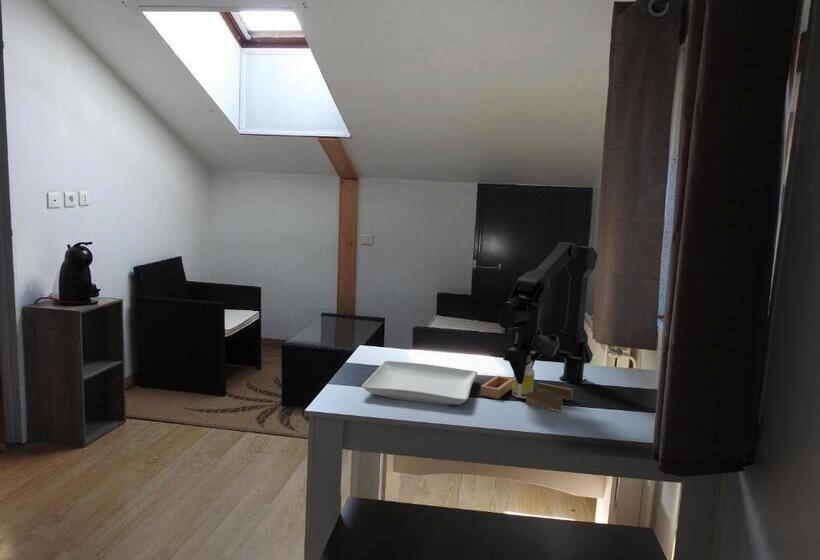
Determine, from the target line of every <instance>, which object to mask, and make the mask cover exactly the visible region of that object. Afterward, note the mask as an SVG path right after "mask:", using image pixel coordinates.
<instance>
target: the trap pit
mask: <svg viewBox="0 0 820 560" xmlns="http://www.w3.org/2000/svg"><path fill="white" fill-rule="evenodd" d="M511 390H513V378H512V377H506V376H503V375H502V376H501V375H496V376H494V377H492V378H491V379H489V380H488V381H487V382H485V383H484V384H482V385H480V396H483V397H487V398H492V399H497V400H499V399H500V398H501V397H503V396H504V395H506V394H507V393H508V392H509V391H511Z"/></svg>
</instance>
